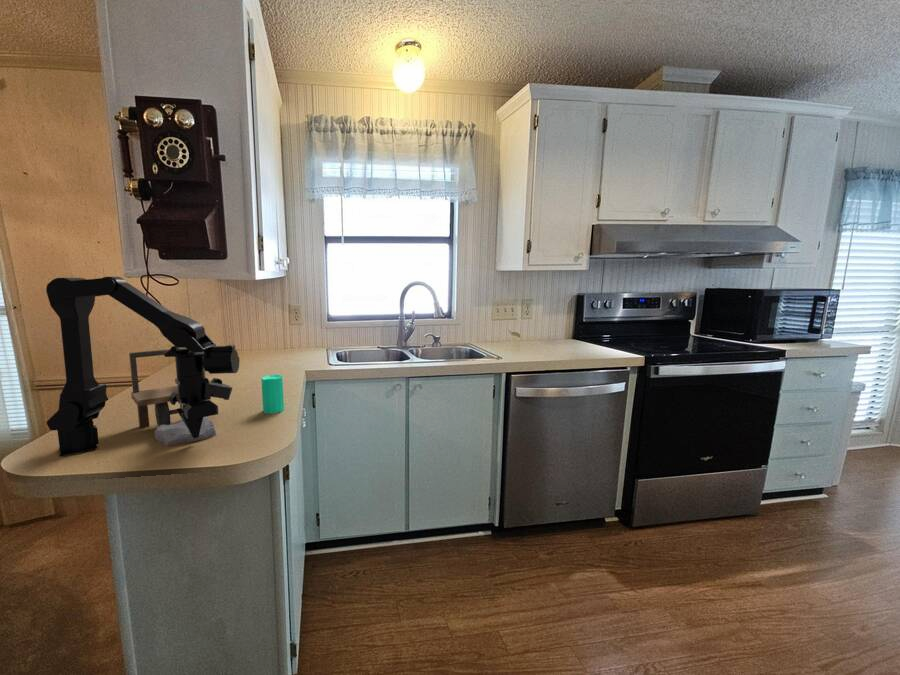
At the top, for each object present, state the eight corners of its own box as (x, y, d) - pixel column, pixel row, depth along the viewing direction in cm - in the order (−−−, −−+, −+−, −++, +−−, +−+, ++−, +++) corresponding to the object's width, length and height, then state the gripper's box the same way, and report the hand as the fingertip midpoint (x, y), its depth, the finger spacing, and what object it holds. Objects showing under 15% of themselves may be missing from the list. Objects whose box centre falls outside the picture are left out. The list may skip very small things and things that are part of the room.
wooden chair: (141, 437, 107) (133, 358, 105) (134, 426, 115) (127, 352, 113) (219, 421, 120) (214, 350, 117) (208, 412, 128) (203, 345, 125)
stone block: (220, 441, 110) (203, 426, 116) (220, 425, 109) (203, 410, 115) (168, 457, 101) (153, 440, 107) (167, 440, 100) (151, 423, 105)
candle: (274, 406, 134) (272, 369, 133) (288, 409, 132) (286, 371, 130) (258, 411, 129) (256, 372, 127) (272, 414, 126) (270, 374, 125)
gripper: (240, 375, 100) (244, 439, 102) (216, 364, 114) (220, 420, 116) (185, 383, 93) (191, 452, 95) (167, 370, 106) (172, 430, 108)
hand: (195, 437), depth 103 cm, fingers closed
